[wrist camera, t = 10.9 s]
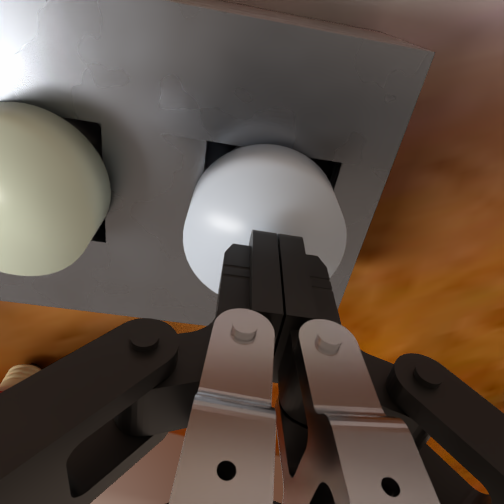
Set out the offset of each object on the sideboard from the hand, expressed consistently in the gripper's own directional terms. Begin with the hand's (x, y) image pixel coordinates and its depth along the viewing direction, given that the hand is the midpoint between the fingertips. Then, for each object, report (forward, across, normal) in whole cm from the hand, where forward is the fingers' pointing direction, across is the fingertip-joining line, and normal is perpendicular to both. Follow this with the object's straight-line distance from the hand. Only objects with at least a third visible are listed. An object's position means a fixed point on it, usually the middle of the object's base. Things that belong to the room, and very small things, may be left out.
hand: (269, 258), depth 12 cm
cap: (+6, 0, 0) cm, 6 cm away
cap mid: (+6, +8, 0) cm, 10 cm away
